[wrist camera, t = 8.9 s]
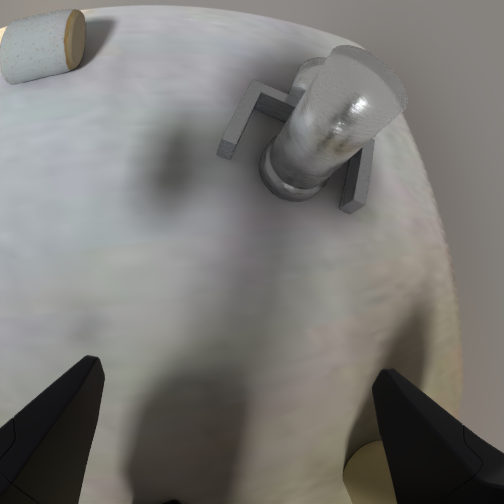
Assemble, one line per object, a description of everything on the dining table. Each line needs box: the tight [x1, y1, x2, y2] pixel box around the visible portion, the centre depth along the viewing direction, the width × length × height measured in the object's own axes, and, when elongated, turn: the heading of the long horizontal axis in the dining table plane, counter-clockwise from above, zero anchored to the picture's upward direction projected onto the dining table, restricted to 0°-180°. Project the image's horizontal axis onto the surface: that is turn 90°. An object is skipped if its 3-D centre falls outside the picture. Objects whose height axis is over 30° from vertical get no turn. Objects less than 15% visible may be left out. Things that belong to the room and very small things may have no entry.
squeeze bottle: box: [343, 441, 397, 504], centre depth 13 cm, size 8×8×18 cm
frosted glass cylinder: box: [259, 45, 408, 202], centre depth 20 cm, size 6×6×13 cm
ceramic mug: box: [0, 9, 86, 85], centre depth 19 cm, size 11×8×8 cm
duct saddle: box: [217, 58, 375, 214], centre depth 24 cm, size 12×13×6 cm
